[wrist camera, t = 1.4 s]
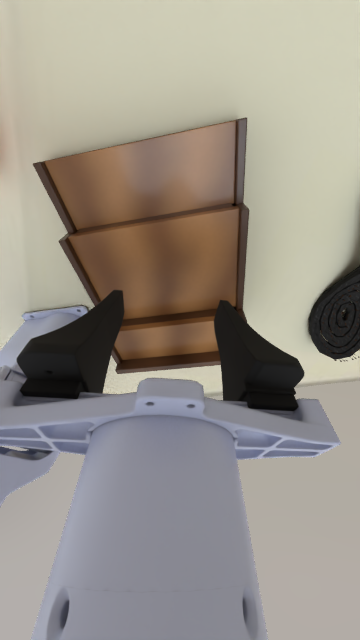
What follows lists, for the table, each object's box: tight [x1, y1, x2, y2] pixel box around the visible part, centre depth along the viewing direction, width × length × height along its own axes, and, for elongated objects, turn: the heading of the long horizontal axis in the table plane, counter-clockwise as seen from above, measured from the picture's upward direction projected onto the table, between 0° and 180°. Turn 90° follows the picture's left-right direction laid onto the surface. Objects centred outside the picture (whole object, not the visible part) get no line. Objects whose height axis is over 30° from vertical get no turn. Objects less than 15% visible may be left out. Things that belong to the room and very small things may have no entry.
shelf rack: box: [33, 118, 249, 374], centre depth 20 cm, size 16×21×8 cm
